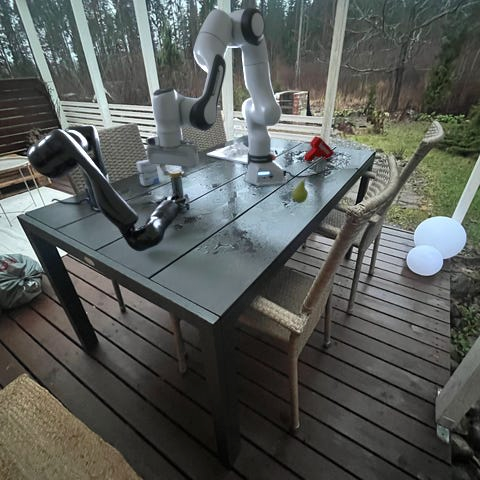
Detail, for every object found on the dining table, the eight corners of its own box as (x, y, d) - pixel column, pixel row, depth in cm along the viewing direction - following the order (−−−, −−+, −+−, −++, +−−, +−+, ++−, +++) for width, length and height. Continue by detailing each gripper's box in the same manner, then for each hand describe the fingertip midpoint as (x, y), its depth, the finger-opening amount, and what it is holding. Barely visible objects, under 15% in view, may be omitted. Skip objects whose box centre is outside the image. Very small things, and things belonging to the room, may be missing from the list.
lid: (170, 178, 103) (170, 174, 102) (167, 174, 107) (166, 170, 106) (183, 176, 105) (183, 172, 104) (180, 172, 109) (179, 168, 108)
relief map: (248, 164, 168) (248, 156, 165) (206, 155, 186) (206, 147, 183) (271, 154, 186) (271, 146, 183) (231, 147, 204) (231, 140, 201)
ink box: (155, 180, 146) (151, 158, 140) (159, 182, 143) (156, 160, 136) (140, 184, 141) (135, 161, 134) (145, 186, 138) (140, 163, 131)
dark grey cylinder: (174, 210, 115) (168, 172, 106) (184, 208, 117) (179, 170, 108) (176, 214, 112) (171, 175, 103) (186, 212, 113) (181, 174, 104)
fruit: (288, 200, 123) (290, 174, 116) (302, 197, 125) (305, 172, 119) (296, 206, 118) (299, 179, 111) (310, 203, 120) (314, 177, 114)
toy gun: (305, 158, 165) (319, 136, 162) (300, 157, 168) (315, 135, 166) (320, 172, 177) (334, 152, 174) (316, 170, 180) (329, 151, 177)
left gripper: (182, 206, 96) (196, 187, 110) (145, 203, 98) (163, 186, 112) (185, 224, 100) (198, 204, 114) (148, 221, 102) (166, 202, 116)
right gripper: (200, 139, 98) (203, 176, 106) (151, 135, 104) (157, 171, 111) (192, 143, 93) (196, 181, 101) (141, 139, 99) (148, 176, 106)
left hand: (180, 195), depth 113 cm, fingers closed on dark grey cylinder, 4 cm apart
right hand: (175, 176), depth 106 cm, fingers open, 6 cm apart
